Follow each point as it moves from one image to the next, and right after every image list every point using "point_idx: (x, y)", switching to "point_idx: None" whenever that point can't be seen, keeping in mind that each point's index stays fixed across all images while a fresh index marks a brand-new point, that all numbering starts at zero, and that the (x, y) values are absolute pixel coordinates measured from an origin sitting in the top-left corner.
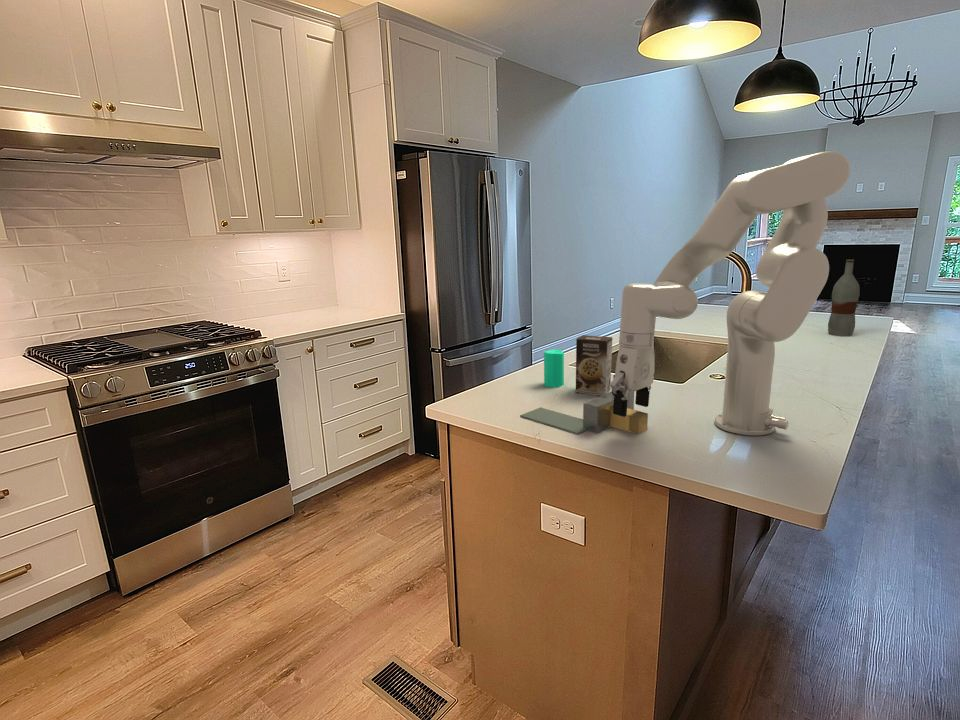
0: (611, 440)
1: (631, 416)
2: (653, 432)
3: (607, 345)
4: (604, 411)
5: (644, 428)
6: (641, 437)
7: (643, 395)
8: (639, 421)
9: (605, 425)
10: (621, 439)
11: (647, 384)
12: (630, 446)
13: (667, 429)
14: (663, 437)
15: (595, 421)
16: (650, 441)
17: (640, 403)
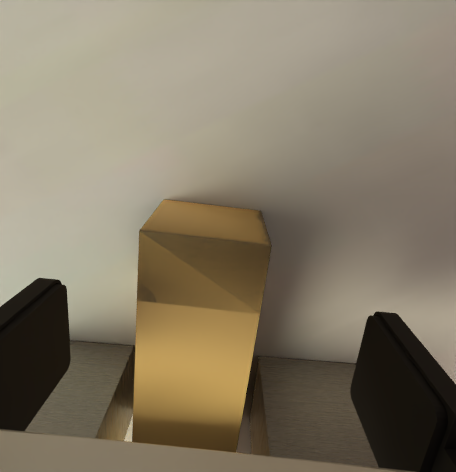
0: (414, 279)
1: (262, 297)
2: (186, 150)
3: None
4: (329, 447)
5: (191, 206)
6: (296, 174)
7: (14, 370)
8: (254, 233)
9: (295, 373)
10: (378, 247)
11: (37, 467)
12: (451, 169)
13: (87, 99)
14: (224, 65)
15: None
16: (327, 106)
17: (61, 337)
